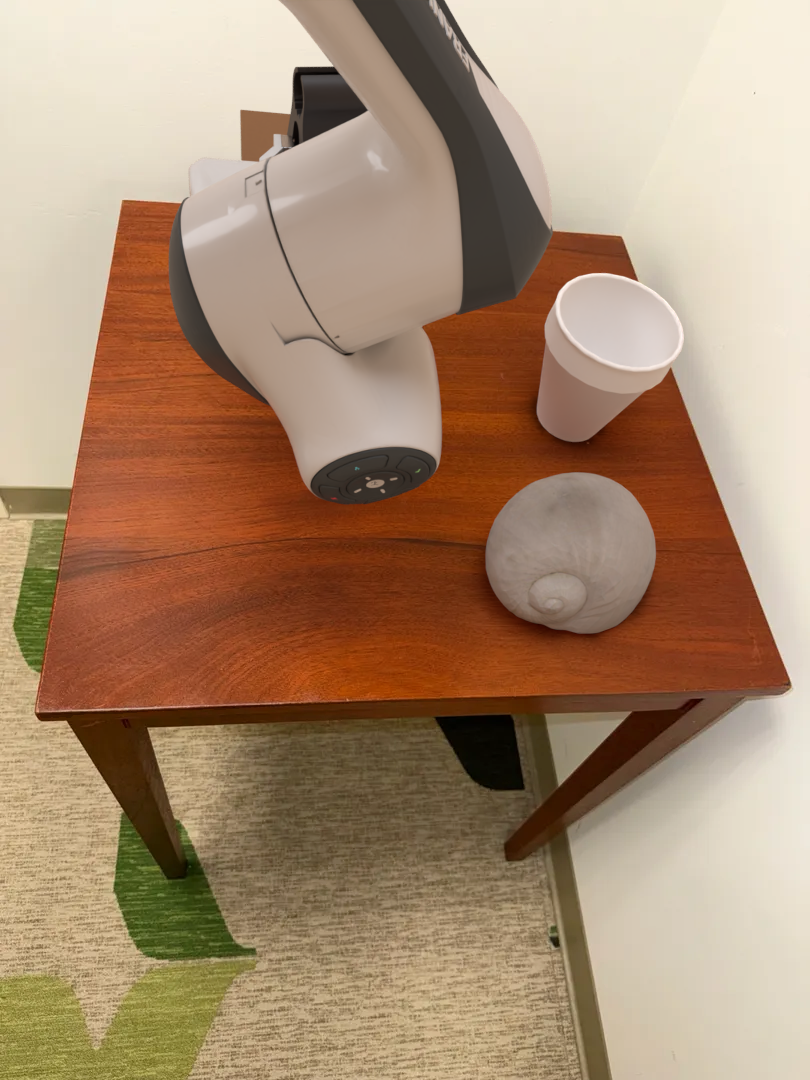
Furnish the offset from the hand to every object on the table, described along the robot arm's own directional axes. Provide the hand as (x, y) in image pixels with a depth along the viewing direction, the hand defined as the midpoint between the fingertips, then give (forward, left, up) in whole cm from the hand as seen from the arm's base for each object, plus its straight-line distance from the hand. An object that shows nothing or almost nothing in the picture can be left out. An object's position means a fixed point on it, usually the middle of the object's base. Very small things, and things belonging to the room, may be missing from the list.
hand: (333, 147), depth 56 cm
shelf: (+1, +15, -25) cm, 29 cm away
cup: (+26, -4, -25) cm, 37 cm away
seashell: (+21, -22, -25) cm, 40 cm away
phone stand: (0, -1, -6) cm, 6 cm away
